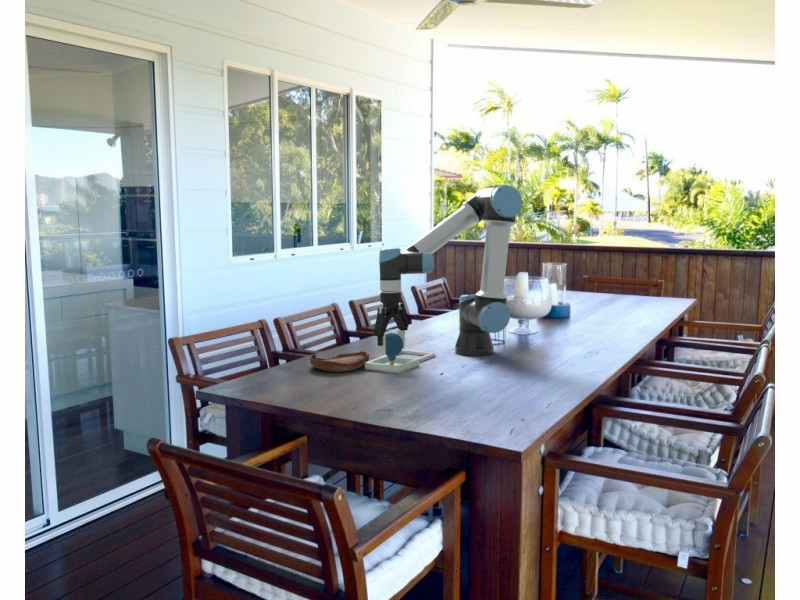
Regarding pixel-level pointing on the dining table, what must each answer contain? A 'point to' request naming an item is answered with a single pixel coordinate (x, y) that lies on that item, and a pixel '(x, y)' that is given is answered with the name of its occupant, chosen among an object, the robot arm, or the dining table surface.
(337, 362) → the basket
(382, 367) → the tray
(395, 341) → the light bulb
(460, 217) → the robot arm
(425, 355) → the pale square frame
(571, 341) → the dining table surface
